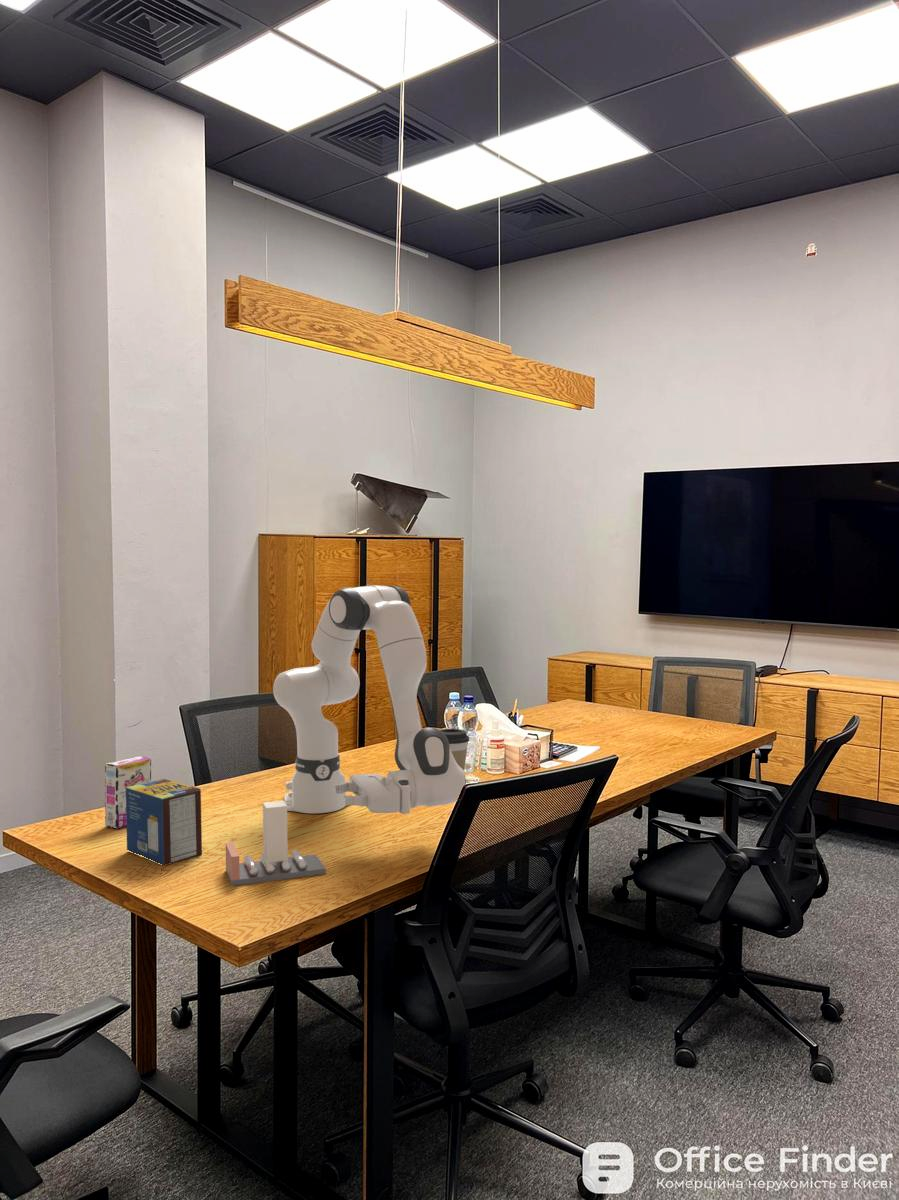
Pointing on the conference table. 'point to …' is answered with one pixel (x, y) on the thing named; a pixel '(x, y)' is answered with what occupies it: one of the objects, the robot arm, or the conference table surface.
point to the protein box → (164, 821)
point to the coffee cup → (457, 744)
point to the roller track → (279, 871)
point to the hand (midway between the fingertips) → (339, 794)
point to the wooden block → (275, 832)
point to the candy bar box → (123, 786)
